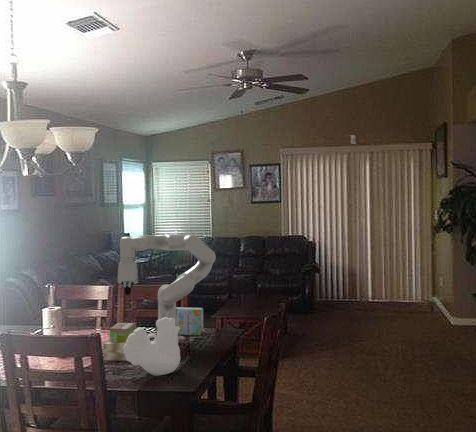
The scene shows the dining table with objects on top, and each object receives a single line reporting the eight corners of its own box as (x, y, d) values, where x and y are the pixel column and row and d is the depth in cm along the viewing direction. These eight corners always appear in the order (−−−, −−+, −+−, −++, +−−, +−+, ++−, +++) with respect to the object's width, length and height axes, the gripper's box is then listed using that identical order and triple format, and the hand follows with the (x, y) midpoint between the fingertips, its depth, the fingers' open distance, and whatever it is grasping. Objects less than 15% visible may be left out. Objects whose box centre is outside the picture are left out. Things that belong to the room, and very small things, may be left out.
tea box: (129, 358, 281) (128, 328, 281) (108, 358, 282) (108, 328, 282) (136, 350, 296) (136, 322, 296) (117, 350, 297) (117, 322, 297)
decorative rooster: (179, 366, 266) (179, 313, 266) (181, 377, 251) (181, 319, 250) (124, 369, 262) (123, 315, 262) (123, 380, 247) (122, 322, 246)
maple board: (129, 358, 281) (129, 342, 281) (128, 360, 278) (127, 343, 278) (105, 358, 282) (104, 342, 281) (103, 360, 279) (103, 343, 278)
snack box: (203, 333, 335) (203, 307, 334) (200, 335, 329) (200, 309, 329) (169, 332, 339) (168, 306, 339) (165, 334, 334) (165, 308, 334)
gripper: (143, 259, 310) (143, 293, 311) (115, 259, 311) (115, 293, 311) (139, 260, 303) (140, 295, 303) (111, 260, 303) (112, 295, 304)
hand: (127, 294), depth 307 cm, fingers closed
